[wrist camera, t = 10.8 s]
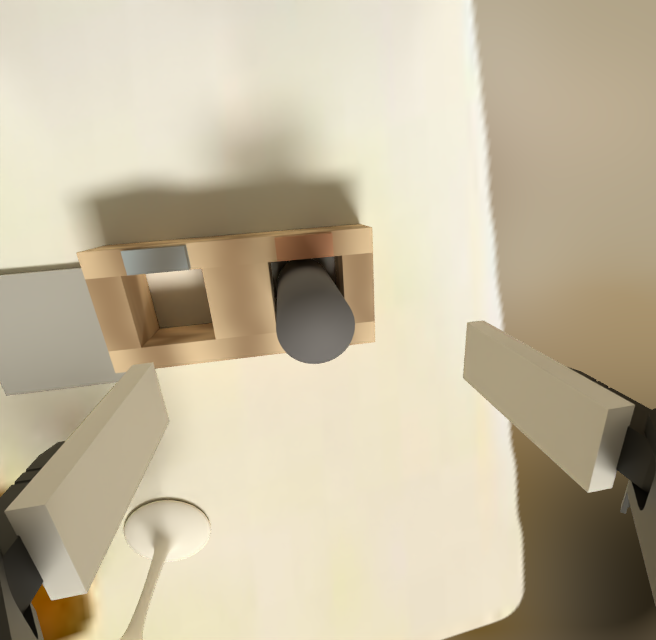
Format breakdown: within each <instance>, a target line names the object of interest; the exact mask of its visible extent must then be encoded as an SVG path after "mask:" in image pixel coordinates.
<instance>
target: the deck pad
mask: <svg viewBox="0 0 656 640" xmlns="http://www.w3.org/2000/svg"><path fill="white" fill-rule="evenodd" d="M125 373H126V372H122V373H115V370H114V367H113V364H112V361H111V358H110V355H109V352H108V349H107V346H106V343H105V340H104V337H103V333H102V330H101V327H100V324H99V321H98V318H97V315H96V312H95V309H94V306H93V303H92V300H91V297H90V293H89V290H88V287H87V284H86V281H85V278H84V275H83V272H82V269H81V268H69V269H58V270H47V271H36V272H25V273H14V274H2V275H0V383H1V385H2V387H3V389H4V391H5V394H6V396H8V395H16V394H24V393H32V392H40V391H48V390H56V389H64V388H72V387H81V386H89V385H97V384H105V383H113V382H118V381H119V380H120V379H121V378H122V376H123V375H124V374H125Z"/></svg>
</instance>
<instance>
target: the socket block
mask: <svg viewBox="0 0 656 640" xmlns="http://www.w3.org/2000/svg"><path fill="white" fill-rule="evenodd" d="M332 256H335V272H336V287H337V288H338V290H339V291H340V293H341V294H342V296H343V297H344V299H345V300H346V302H347V303H348V305H349V307H350V308H351V310H352V312H353V315H354V319H355V331H354V335H353V338H352V341H351V343H350V344H349V345H354V344H363V343H371V342H375V319H374V279H373V239H372V227H369V226H365V225H362V224H355V225H343V226H331V227H319V228H307V229H295V230H283V231H271V232H259V233H247V234H236V235H224V236H212V237H200V238H188V239H176V240H164V241H152V242H140V243H128V244H116V245H105V246H101V247H97V248H93V249H89V250H85V251H81V252H77V257H78V260H79V263H80V266H81V269H82V272H83V275H84V278H85V281H86V284H87V287H88V290H89V293H90V297H91V300H92V303H93V306H94V309H95V312H96V315H97V318H98V321H99V324H100V327H101V330H102V333H103V337H104V340H105V343H106V346H107V349H108V352H109V355H110V358H111V361H112V364H113V367H114V370H115V373H122V372H127V371H128V370H129V368H130V367H131V366H132V365H136V364H144V363H152V362H153V364H154V367H155V369H156V368H164V367H172V366H180V365H189V364H197V363H205V362H214V361H222V360H230V359H238V358H247V357H255V356H263V355H272V354H280V353H286V352H285V351H284V349H283V348H282V347H281V345H280V343H279V341H278V338H277V333H276V314H277V308H276V301H275V293H274V285H273V277H272V270H271V262H278V261H289V260H300V259H310V258H321V257H332ZM192 269H202V273H203V278H204V283H205V288H206V293H207V298H208V303H209V308H210V313H211V318H212V323H207V324H198V325H189V326H180V327H171V328H162V329H159V325H158V321H157V317H156V313H155V309H154V306H153V302H152V298H151V294H150V290H149V286H148V283H147V279H146V275H145V274H149V273H160V272H171V271H181V270H192Z"/></svg>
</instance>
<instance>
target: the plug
mask: <svg viewBox="0 0 656 640" xmlns="http://www.w3.org/2000/svg"><path fill="white" fill-rule="evenodd" d="M354 331H355V319H354V315H353V312H352V310H351V308H350V307H349V305H348V303H347V302H346V300H345V299H344V297H343V296H342V294H341V293H340V291H339V290H338V288H337V287H336V285H335V284H334V282H333V281H332V279H331V278H330V276H329V274H328V273H327V271H326V270H325V268H324V267H323V266H322V265H321V264H320V263H319V262H317V261H316V260H314V259H311V258H310V259H300V260H291V261H289V262H288V263H287V264H285V265H284V266H283V268H282V269H281V271H280V273H279V276H278V286H277V314H276V333H277V338H278V341H279V343H280V345H281V347H282V348H283V349H284V351H285V352H286V353H287V354H288V355H290V356H291V357H292V358H294V359H296V360H298V361H301V362H304V363H309V364H319V363H324V362H328V361H330V360H333V359H334V358H336V357H338V356H339V355H340V354H342V353H343V352H344V351H345V350H346V349H347V347H348V346H349V344H350V343H351V341H352V338H353V335H354Z"/></svg>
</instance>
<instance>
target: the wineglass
mask: <svg viewBox="0 0 656 640" xmlns="http://www.w3.org/2000/svg"><path fill="white" fill-rule="evenodd" d="M210 534H211V527H210V523H209V521H208V519H207V517H206V516H205V514H204V513H203V512H202V511H201V510H199V509H198V508H196V507H195V506H193V505H191V504H188V503H185V502H181V501H175V500H161V501H155V502H151V503H148V504H146V505H144V506H142V507H140V508H138V509H137V510H136V511H134V512H133V513H132V514H131V515H130V516H129V518H128V519H127V521H126V523H125V526H124V536H125V539H126V542H127V543H128V545H129V546H130V548H131V549H132V550H133V551H135V552H136V553H137V554H139V555H140V556H142V557H145V558H147V559H150V560H152V562H151V566H150V569H149V573H148V576H147V579H146V582H145V585H144V588H143V591H142V594H141V597H140V599H139V602H138V605H137V607H136V610H135V612H134V615H133V617H132V619H131V622H130V624H129V626H128V628H127V630H126V631H125V633H124V635H123V636H122V638H121V639H120V640H142V634H143V627H144V623H145V619H146V615H147V611H148V608H149V604H150V601H151V598H152V595H153V592H154V589H155V586H156V583H157V580H158V578H159V575H160V572H161V570H162V567H163V565H164V562H172V561H178V560H182V559H185V558H188V557H190V556H192V555H194V554H196V553H197V552H199V551H200V550H201V549H202V548H203V547H204V546H205V545H206V544H207V542H208V540H209V538H210Z"/></svg>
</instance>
